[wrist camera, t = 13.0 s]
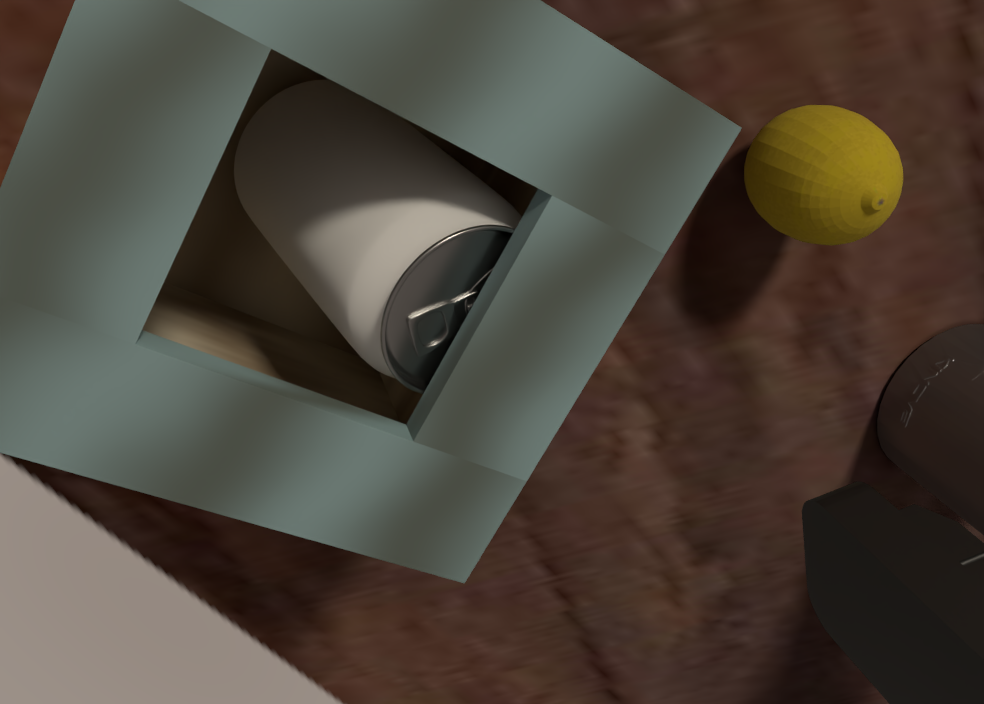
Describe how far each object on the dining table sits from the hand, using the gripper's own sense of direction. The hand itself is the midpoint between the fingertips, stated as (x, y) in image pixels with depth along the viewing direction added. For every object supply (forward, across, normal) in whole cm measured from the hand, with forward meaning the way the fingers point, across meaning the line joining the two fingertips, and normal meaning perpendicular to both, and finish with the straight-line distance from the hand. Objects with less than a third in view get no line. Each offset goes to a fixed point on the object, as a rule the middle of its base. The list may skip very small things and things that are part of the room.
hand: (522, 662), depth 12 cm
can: (+27, 0, 0) cm, 27 cm away
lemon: (+29, -20, +6) cm, 36 cm away
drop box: (+28, 0, 0) cm, 28 cm away
